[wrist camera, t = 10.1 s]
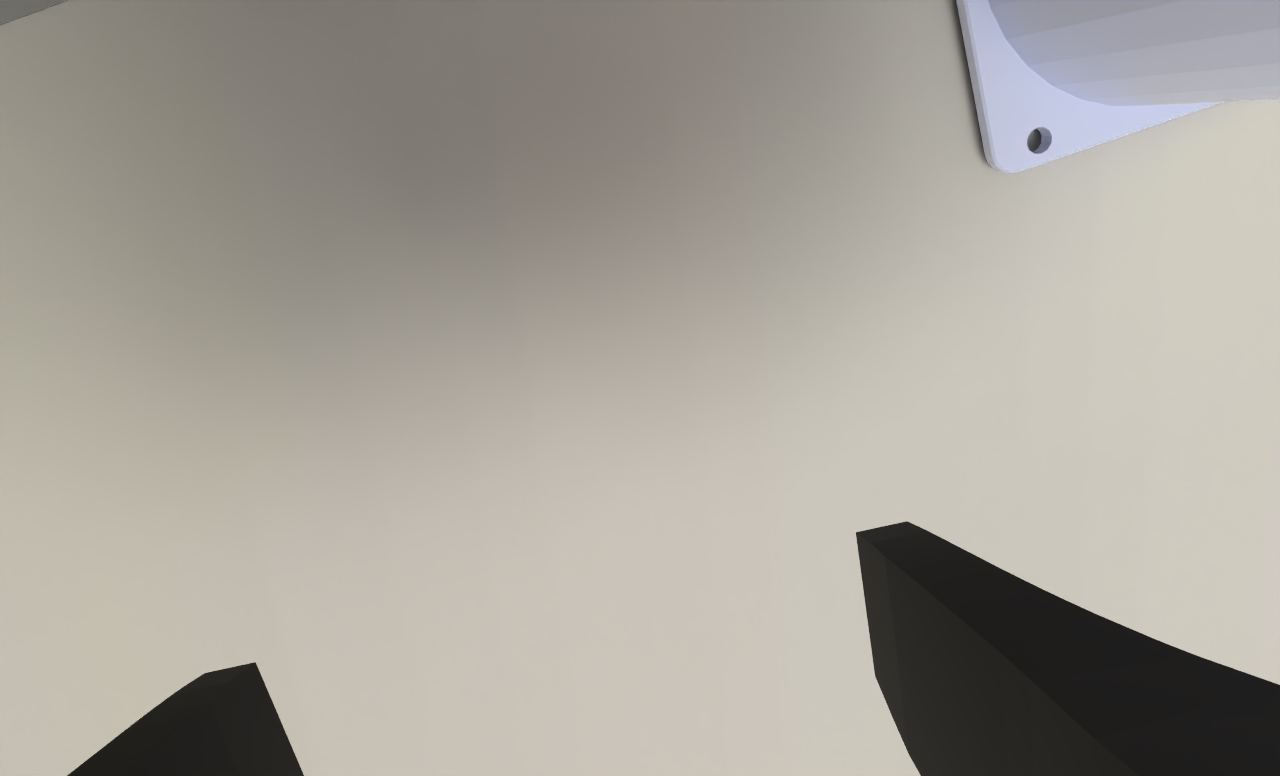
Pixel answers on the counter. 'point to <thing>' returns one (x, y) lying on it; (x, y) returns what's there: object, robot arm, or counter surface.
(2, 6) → the outlet box
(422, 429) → the counter surface
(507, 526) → the counter surface
